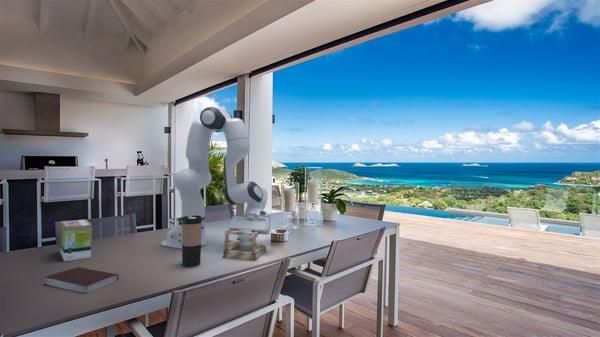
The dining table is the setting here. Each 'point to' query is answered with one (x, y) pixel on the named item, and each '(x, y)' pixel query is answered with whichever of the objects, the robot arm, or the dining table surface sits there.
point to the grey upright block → (245, 239)
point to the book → (80, 279)
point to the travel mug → (191, 241)
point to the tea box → (75, 240)
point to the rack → (234, 249)
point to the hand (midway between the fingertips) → (245, 240)
